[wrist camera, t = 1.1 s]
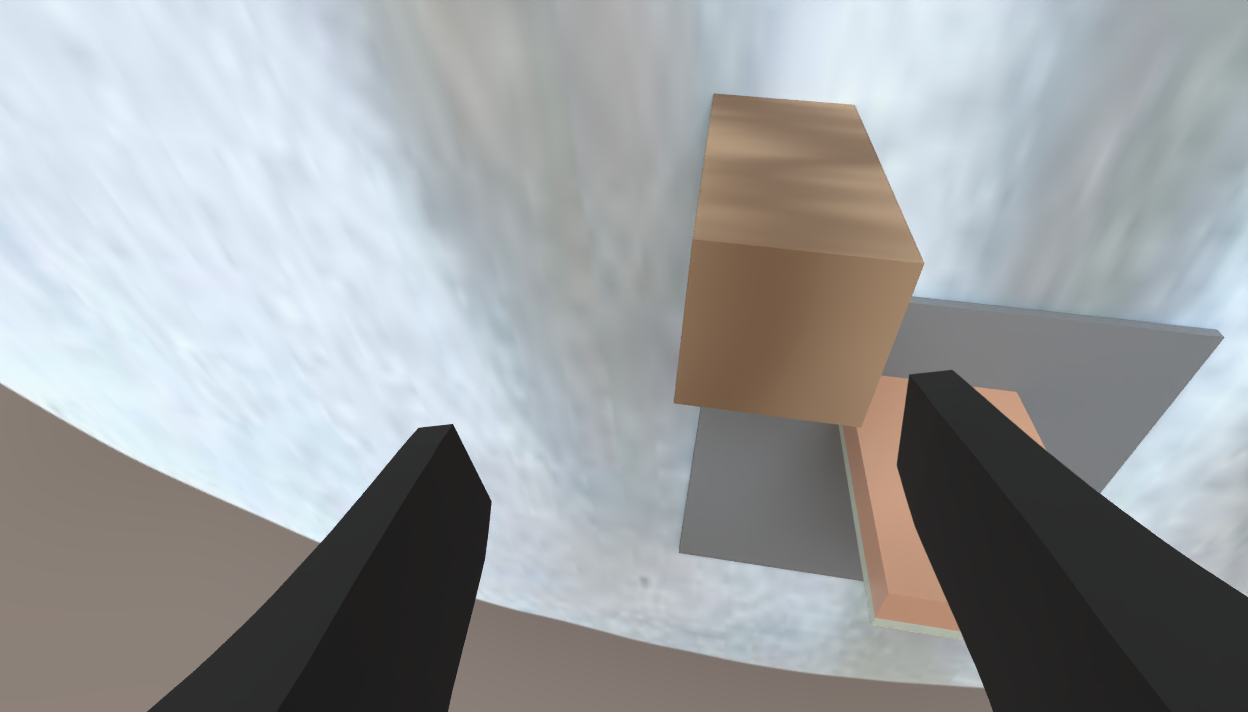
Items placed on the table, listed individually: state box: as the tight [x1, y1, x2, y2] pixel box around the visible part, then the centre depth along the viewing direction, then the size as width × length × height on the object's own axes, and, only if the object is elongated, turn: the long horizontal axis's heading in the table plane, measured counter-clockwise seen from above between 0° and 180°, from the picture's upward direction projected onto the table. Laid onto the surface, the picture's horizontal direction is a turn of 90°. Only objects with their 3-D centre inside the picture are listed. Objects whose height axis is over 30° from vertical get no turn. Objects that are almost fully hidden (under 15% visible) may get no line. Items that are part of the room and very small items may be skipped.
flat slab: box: [839, 375, 1046, 640], centre depth 20 cm, size 6×2×9 cm, turn 88°
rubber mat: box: [679, 297, 1224, 581], centre depth 26 cm, size 16×16×1 cm
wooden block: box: [674, 94, 924, 428], centre depth 16 cm, size 4×4×9 cm
